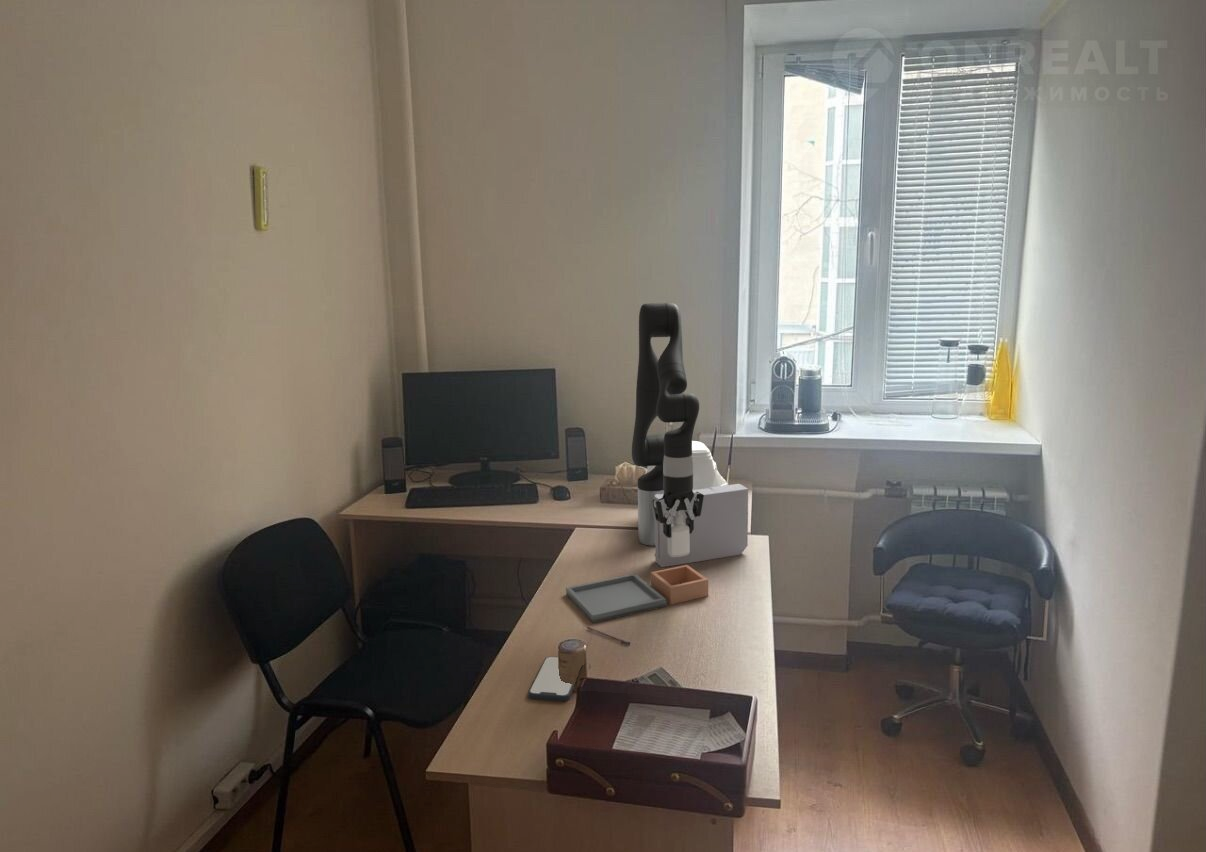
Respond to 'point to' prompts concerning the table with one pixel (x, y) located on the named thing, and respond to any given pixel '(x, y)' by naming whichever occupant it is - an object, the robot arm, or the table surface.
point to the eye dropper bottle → (679, 537)
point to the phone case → (550, 683)
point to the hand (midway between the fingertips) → (678, 534)
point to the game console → (710, 527)
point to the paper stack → (703, 468)
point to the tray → (615, 597)
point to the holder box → (680, 592)
